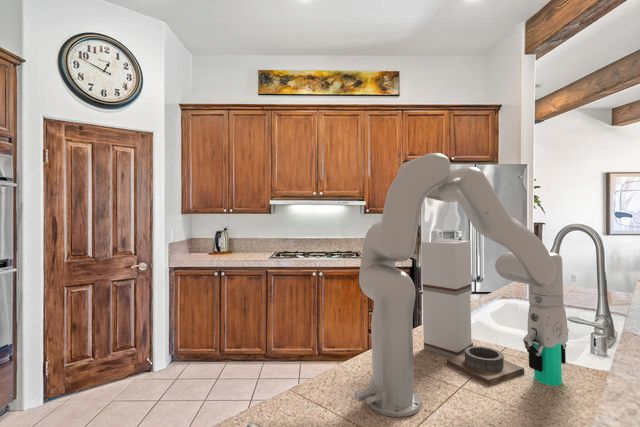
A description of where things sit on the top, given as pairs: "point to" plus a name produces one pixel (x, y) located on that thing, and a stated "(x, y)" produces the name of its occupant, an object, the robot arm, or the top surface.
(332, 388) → the top surface
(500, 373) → the candle stand
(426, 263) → the tall banded pillar
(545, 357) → the candle
